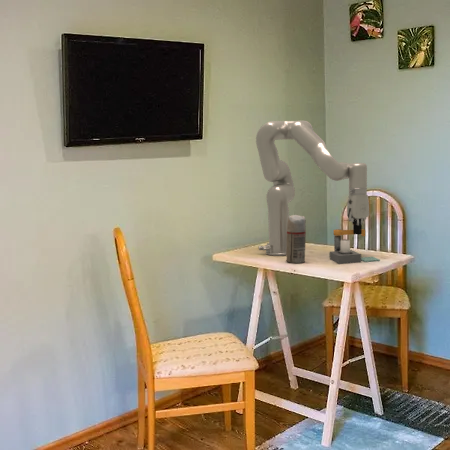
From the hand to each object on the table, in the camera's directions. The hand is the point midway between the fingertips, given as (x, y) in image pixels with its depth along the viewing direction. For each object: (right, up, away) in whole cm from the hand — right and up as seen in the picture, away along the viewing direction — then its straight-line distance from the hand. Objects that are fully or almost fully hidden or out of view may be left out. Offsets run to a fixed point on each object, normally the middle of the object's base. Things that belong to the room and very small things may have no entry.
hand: (357, 233), depth 289 cm
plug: (-6, -12, -4) cm, 14 cm away
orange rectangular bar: (-3, -1, +3) cm, 4 cm away
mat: (+4, -11, -4) cm, 13 cm away
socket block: (-6, -12, -4) cm, 14 cm away
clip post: (-8, -10, +4) cm, 14 cm away
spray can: (-27, -12, -3) cm, 30 cm away
